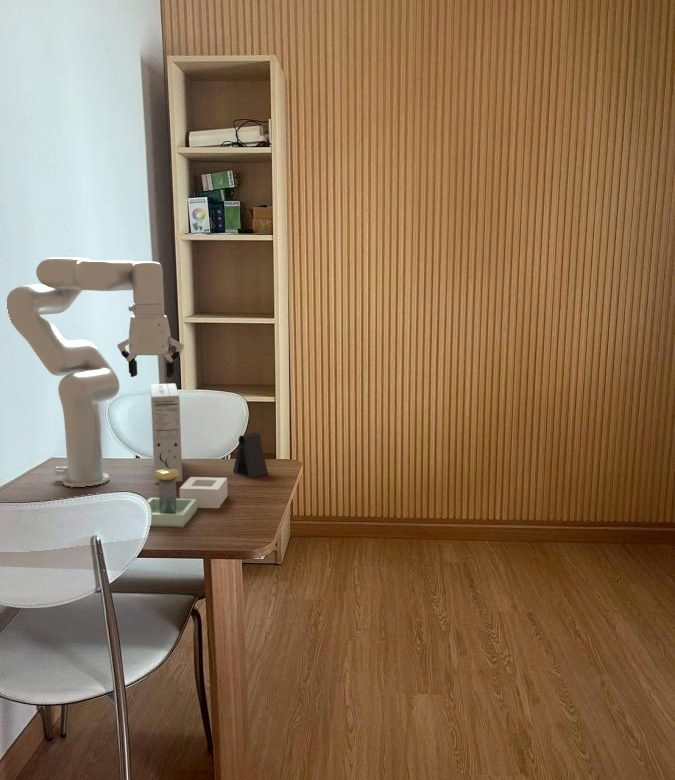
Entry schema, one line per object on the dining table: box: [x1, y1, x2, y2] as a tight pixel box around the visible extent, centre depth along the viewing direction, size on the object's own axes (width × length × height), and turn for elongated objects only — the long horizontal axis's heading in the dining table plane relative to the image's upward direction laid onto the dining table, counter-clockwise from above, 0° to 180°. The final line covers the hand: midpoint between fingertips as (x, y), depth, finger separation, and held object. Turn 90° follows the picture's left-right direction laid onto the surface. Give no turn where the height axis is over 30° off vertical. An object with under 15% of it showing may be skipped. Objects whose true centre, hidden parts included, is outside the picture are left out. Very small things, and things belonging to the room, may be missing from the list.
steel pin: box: [154, 469, 179, 514], centre depth 176 cm, size 6×6×11 cm
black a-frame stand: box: [232, 432, 269, 479], centre depth 213 cm, size 9×6×12 cm, turn 47°
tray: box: [146, 497, 198, 528], centre depth 177 cm, size 12×12×3 cm
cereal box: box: [149, 383, 183, 484], centre depth 214 cm, size 22×8×25 cm, turn 15°
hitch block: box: [179, 476, 229, 509], centre depth 189 cm, size 10×10×5 cm
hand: (152, 376), depth 189 cm, fingers open, 9 cm apart
